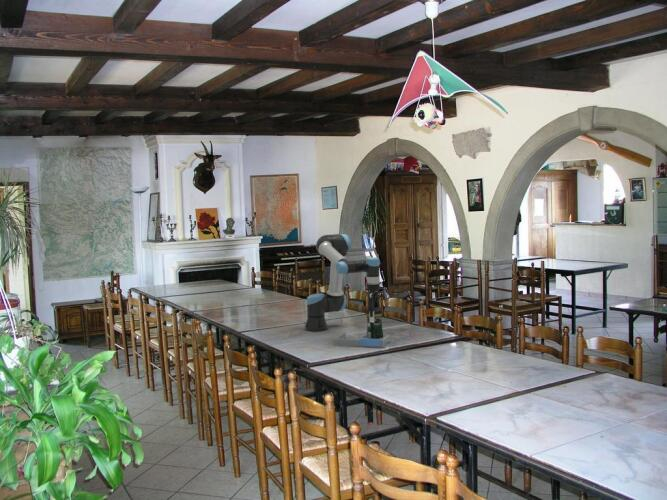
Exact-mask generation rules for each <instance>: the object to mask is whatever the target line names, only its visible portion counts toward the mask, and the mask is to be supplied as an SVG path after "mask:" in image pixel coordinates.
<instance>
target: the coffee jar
mask: <svg viewBox="0 0 667 500" xmlns="http://www.w3.org/2000/svg"><path fill="white" fill-rule="evenodd" d="M365 316H366V319H367V324H366V334H367V338H368V339H383V338H384V331H383V324H382V317H383V309H382V308H381V307H380V308H379V307H374V322H370V318H369V311H368V307H367V308H366V309H365Z"/></svg>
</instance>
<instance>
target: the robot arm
mask: <svg viewBox="0 0 667 500" xmlns="http://www.w3.org/2000/svg"><path fill="white" fill-rule="evenodd" d="M351 242H352V241H351V240H350V237H349V235H348V234H347V233H339V234H338V233H336V234H335V233H333V234H324V235H321V236H320V237H319V238H318V239H317V241H316V244H315V248H316V251H317V253H319V255H321V256H324V257H326V259H327V260H329V261H330V270H329V271H330V272H329V287H328V290H326V294H324V293H320V292H319V293H313V294H310V295H308V296H307V297H306V315H307V319H306V322H305V325H304V329H305V331H307V332H323V331H326V330H328V329H329V328H328V326H329V325H328V323H327V320H326V318H325V317H326V316H325V315H326V313H335V312H342V311H344V310H345V308H346V306H347V296H346V295H345V294H344V293H345V292H344V291H343V290H342V289H343V277H344V275H346V274H347V275H348V274H358V273H366V278H365V280H366V282H367V284H366V290H367V291H369V292H370V293H368V307H367V308H368V311H369V318H370V322H374V307H379V308H381V305H380V304H381V303H380V297H379V292H380V289H381V288H380V287H381V285H380V279H381V278H380V259H379V258H378V257H375V256H374V257H373V256H372V257H370V256H369V257H367V258H366V259H365V258H363V259H361V258H360V259H358V260H348V259H347V258H346V256H347V255H348V252H350V251H351V249H352V243H351Z"/></svg>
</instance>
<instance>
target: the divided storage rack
mask: <svg viewBox="0 0 667 500" xmlns="http://www.w3.org/2000/svg"><path fill="white" fill-rule="evenodd" d="M390 336H391V335H390V334H387V335H386V336H385V337H383V338H380V339H368V338H367V333H365V334H363V335H362V336H361V337H359V338H347V333H346V332H343V333H341V334H340V335H339V336H337V337H334V339H333V345H334V346H336V345H341V346H340V347H356V346H359V348H361V347H362V348H377V347H378V349H379V348H380V349H384V348H385V346H386V345H388V344H389V343H390V342H391V341H390V340H391V337H390ZM388 342H389V343H388ZM387 343H388V344H387Z"/></svg>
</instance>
